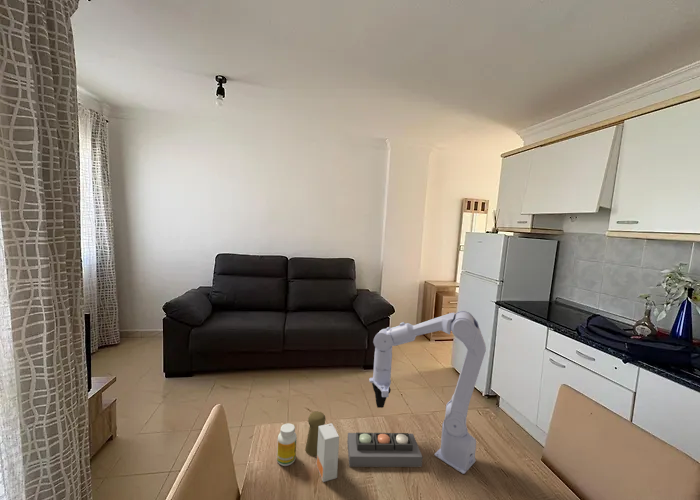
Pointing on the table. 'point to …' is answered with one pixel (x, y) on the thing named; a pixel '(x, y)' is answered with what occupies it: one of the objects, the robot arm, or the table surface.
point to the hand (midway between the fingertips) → (379, 406)
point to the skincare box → (327, 452)
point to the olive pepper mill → (314, 432)
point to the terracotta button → (383, 439)
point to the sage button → (365, 438)
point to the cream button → (401, 439)
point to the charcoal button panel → (383, 452)
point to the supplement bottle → (286, 445)
